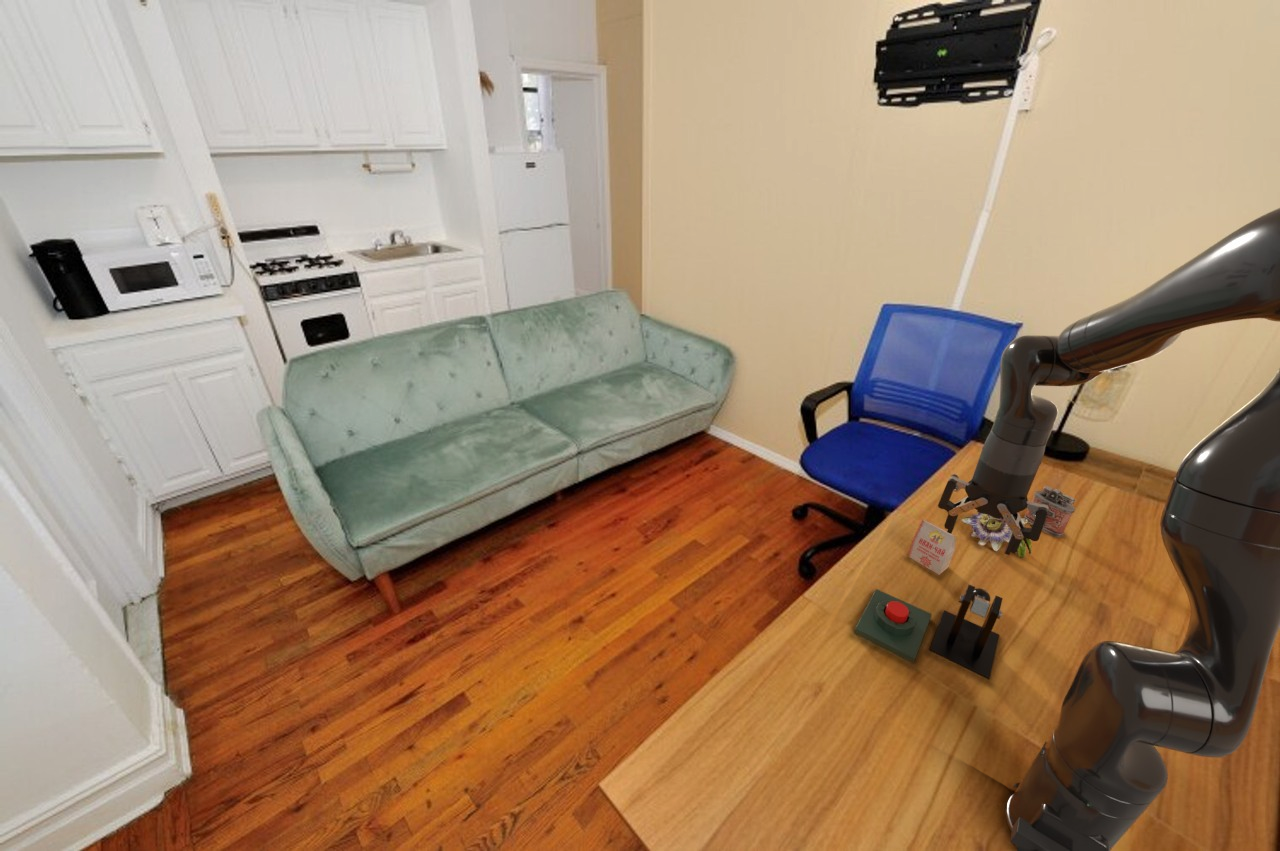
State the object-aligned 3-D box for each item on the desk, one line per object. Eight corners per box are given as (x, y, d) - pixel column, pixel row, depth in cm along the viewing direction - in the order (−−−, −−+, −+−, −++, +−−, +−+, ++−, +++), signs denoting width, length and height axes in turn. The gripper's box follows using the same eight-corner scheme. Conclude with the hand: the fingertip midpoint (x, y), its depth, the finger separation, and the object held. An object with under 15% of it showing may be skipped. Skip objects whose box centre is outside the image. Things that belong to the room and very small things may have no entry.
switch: (967, 599, 96) (973, 584, 95) (986, 607, 94) (992, 592, 94) (965, 612, 85) (972, 594, 85) (987, 621, 83) (994, 603, 83)
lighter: (1020, 518, 120) (1035, 484, 116) (1029, 514, 121) (1044, 480, 117) (1057, 539, 114) (1074, 503, 109) (1066, 534, 115) (1083, 499, 110)
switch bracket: (942, 614, 96) (959, 568, 90) (997, 639, 91) (1019, 591, 85) (928, 653, 89) (945, 606, 83) (987, 683, 83) (1010, 634, 78)
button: (903, 626, 89) (905, 620, 88) (882, 616, 91) (884, 610, 91) (909, 614, 92) (911, 607, 91) (888, 604, 94) (890, 597, 93)
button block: (911, 666, 86) (917, 651, 84) (853, 636, 92) (857, 621, 90) (929, 622, 94) (934, 607, 93) (873, 596, 100) (878, 581, 98)
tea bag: (916, 552, 111) (927, 516, 106) (947, 570, 106) (960, 533, 101) (906, 559, 109) (917, 522, 104) (938, 577, 104) (951, 540, 99)
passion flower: (974, 564, 115) (950, 518, 114) (998, 538, 119) (976, 494, 119) (1027, 569, 104) (1002, 519, 104) (1051, 541, 109) (1027, 492, 108)
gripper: (952, 455, 80) (926, 535, 88) (1064, 487, 72) (1025, 572, 79) (962, 437, 85) (937, 514, 93) (1068, 465, 77) (1031, 547, 84)
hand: (978, 541), depth 86 cm, fingers open, 8 cm apart
